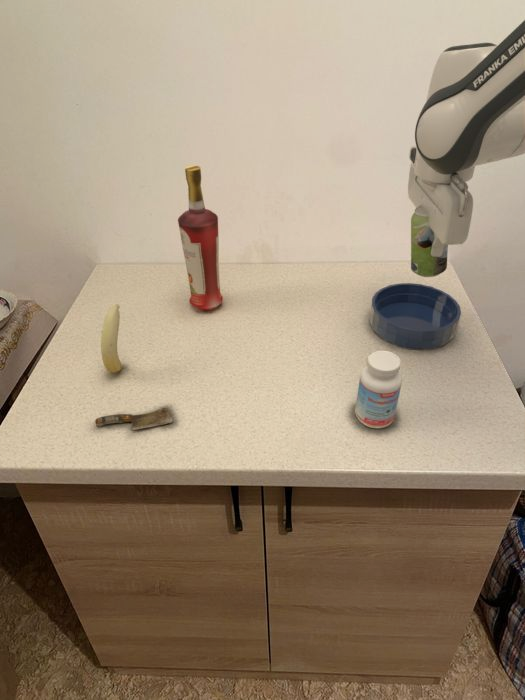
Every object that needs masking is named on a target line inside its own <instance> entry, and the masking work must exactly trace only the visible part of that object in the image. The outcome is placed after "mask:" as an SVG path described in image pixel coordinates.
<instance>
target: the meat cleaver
mask: <svg viewBox="0 0 525 700" xmlns="http://www.w3.org/2000/svg"><path fill="white" fill-rule="evenodd" d="M94 422H95V426H97V427H101V426H105V425H108V424H119V423H131V427H132V431H136V430H142V429H147V428H152V427H157V426H162V425H167V424H172V423H173V422H174V419H173V417H172V415H171V412H170V411H169V408H168V407H167V406H165V407H162V408H159V409H157V410H154V411H151V412H148V413H142V414H131V413H129V414H127V413H117V414H110V415H105V416H100V417H97V418H95V421H94Z"/></svg>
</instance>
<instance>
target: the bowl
mask: <svg viewBox="0 0 525 700" xmlns="http://www.w3.org/2000/svg"><path fill="white" fill-rule="evenodd" d="M461 316H462V310H461V306H460V305H459V303H458V301H457V300H456V299H455V298H453V296H451V295H450V294H449V293H447V292H445V291H443V290H442V289H440V288H436V287H434V286H431V285H426V284H422V283H414V282H413V283H412V282H403V283H402V282H401V283H395V284H389V285H387V286H384V287H381V288H380V289H379V290H377V291H376V292H375V293H374V295H372V298H371V303H370V310H369V319H368V320H369V324H370V326H371V328H372V329H373V331H374V332H375V333H376V334H377V335H378V337H380V338H381V339H382V340H384V341H385V342H387V343H389V344H391V345H393V346H396V347H400V348H403V349H408V350H419V351H420V350H431V349H436V348H439V347H442V346H444V345H445V344H447V343H449V342H451V340H452V339H454V337H455V336H456V333H457V330H458V326H459V324H460V323H459V322H460V320H461Z"/></svg>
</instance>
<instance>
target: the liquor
mask: <svg viewBox="0 0 525 700" xmlns="http://www.w3.org/2000/svg"><path fill="white" fill-rule="evenodd" d="M184 173H185V180H186V183H187V186H188V187H187V191H188V195H187V196H188V210H186V211H184V212H183V213H182V214H181V215H180V216H178V218H177V223H178V230H179V234H180V241H181V247H182V252H183V256H184V263H185V267H186V273H187V278H188V284H189V285H188V286H189V293H190V297H189V300H188V301H189V304H190V305H191V306H192V307H194V308H196V309H197V310H200V311H202V312H203V311H204V312H208V311H212V310H215V309H216V308H217V307H218V306H219V305H221V303H222V302H223V300H224V297H223V295H222V293H221V282H220V281H221V280H220V279H221V277H220V241H219V236H220V235H219V216H218V215H217V213H215V212H213V210H211V209H208V208H206V207H205V201H204V195H203V190H202V170H201V166H200V165H199V166H198V165H190V166H189V165H188V166H186V167H185V168H184Z"/></svg>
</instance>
